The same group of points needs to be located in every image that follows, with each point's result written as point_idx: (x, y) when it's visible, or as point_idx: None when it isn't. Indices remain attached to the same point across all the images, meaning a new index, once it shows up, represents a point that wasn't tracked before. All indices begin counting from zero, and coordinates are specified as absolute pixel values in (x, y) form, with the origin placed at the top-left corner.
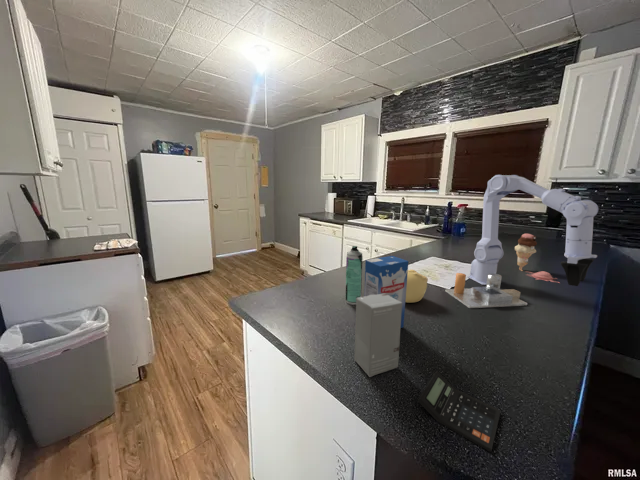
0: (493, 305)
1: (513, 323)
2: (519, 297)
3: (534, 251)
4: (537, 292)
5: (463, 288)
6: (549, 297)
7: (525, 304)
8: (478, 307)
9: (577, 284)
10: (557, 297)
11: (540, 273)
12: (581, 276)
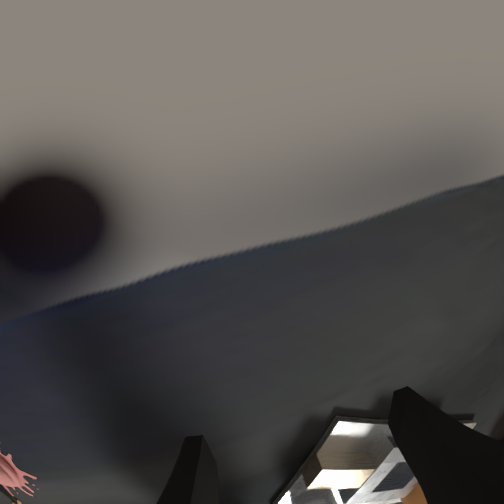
0: None
1: (490, 335)
2: (317, 453)
3: None
4: (145, 457)
5: (419, 492)
6: (150, 425)
7: (343, 418)
8: (460, 420)
9: (416, 394)
10: (115, 411)
11: (5, 481)
12: (205, 475)
